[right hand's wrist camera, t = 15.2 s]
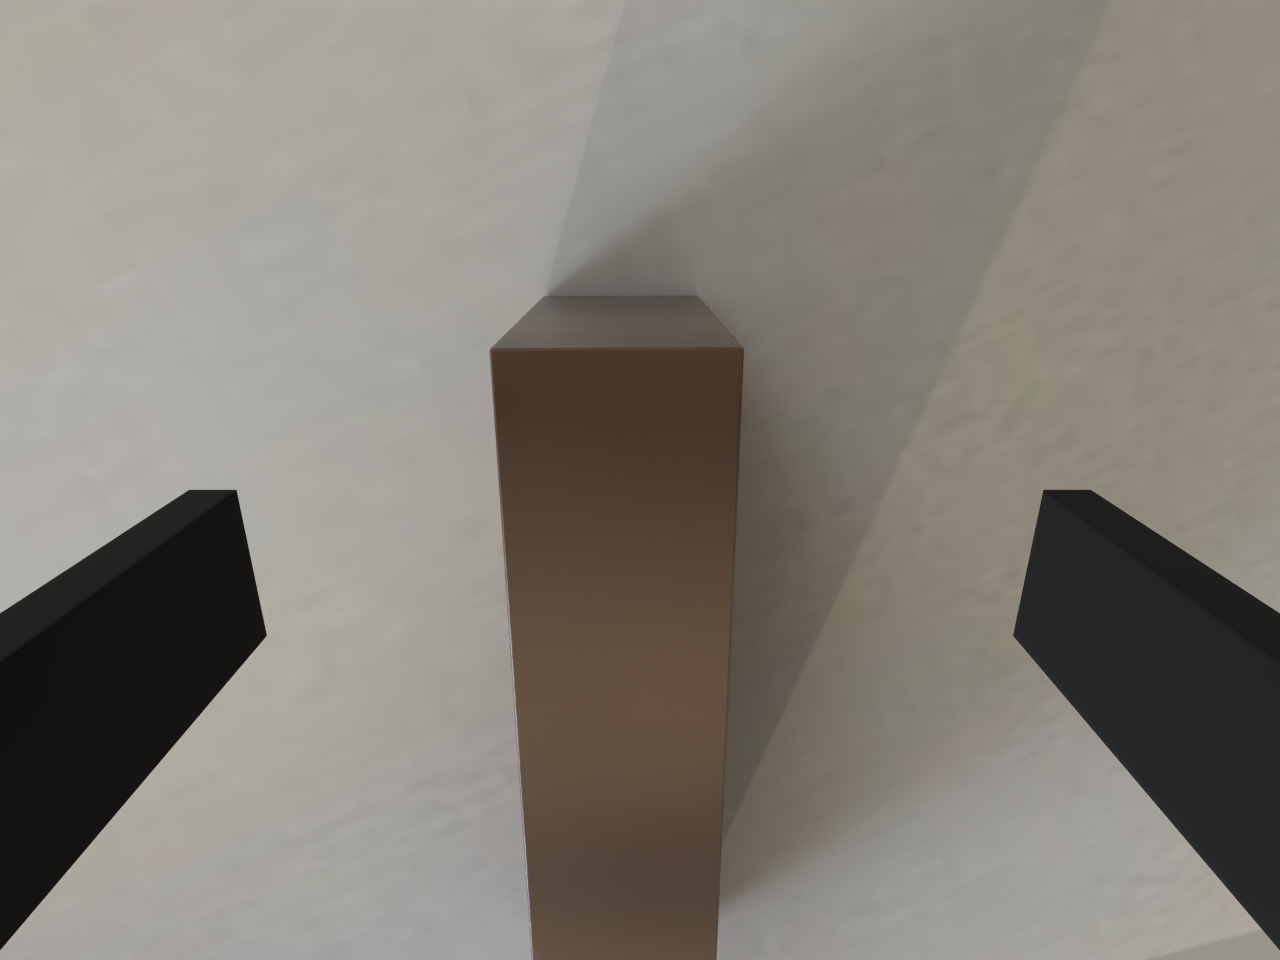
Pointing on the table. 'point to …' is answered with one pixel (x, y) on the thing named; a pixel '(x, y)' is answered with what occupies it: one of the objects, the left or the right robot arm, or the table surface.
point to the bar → (620, 614)
